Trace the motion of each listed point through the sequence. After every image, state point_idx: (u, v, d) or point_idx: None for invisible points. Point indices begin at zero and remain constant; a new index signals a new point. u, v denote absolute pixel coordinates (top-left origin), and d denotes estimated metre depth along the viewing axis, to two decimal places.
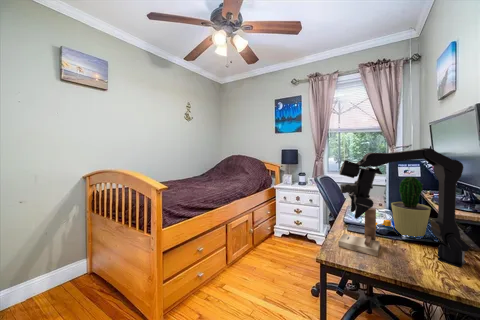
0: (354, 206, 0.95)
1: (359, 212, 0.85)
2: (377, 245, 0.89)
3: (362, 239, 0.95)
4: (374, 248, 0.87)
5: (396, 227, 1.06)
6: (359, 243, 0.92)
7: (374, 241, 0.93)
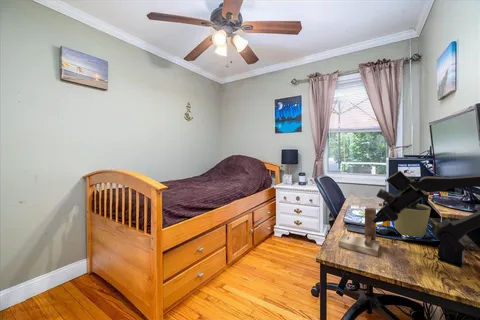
0: (381, 213, 0.98)
1: (380, 219, 0.90)
2: (377, 245, 0.89)
3: (362, 239, 0.95)
4: (374, 248, 0.87)
5: (396, 227, 1.06)
6: (359, 243, 0.92)
7: (374, 241, 0.93)
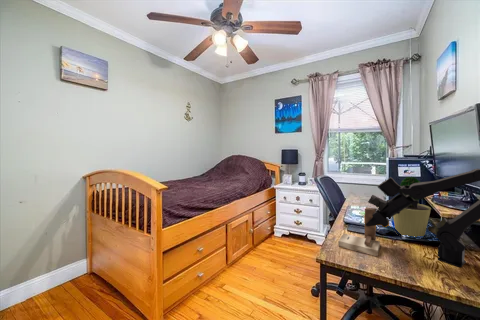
0: None
1: (372, 222, 0.94)
2: (377, 245, 0.89)
3: (362, 239, 0.95)
4: (374, 248, 0.87)
5: (396, 227, 1.06)
6: (359, 243, 0.92)
7: (374, 241, 0.93)
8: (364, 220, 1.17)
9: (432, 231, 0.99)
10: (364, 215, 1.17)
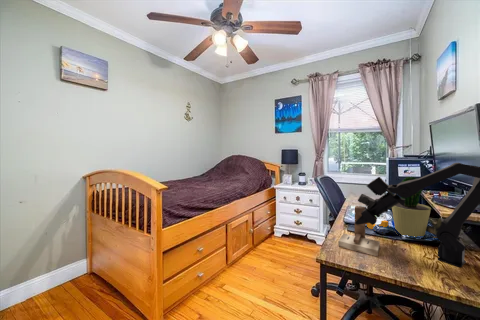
0: None
1: (361, 220, 0.96)
2: (377, 245, 0.89)
3: (362, 239, 0.95)
4: (374, 248, 0.87)
5: (396, 227, 1.06)
6: (359, 243, 0.92)
7: (374, 241, 0.93)
8: None
9: (429, 231, 0.99)
10: None
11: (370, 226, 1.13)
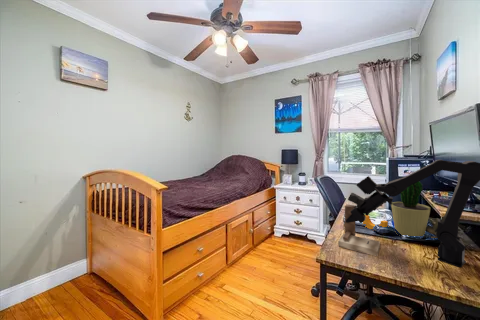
0: None
1: (351, 219, 0.99)
2: (377, 245, 0.89)
3: (362, 239, 0.95)
4: (374, 248, 0.87)
5: (396, 227, 1.06)
6: (359, 243, 0.92)
7: (374, 241, 0.93)
8: None
9: (428, 230, 1.00)
10: None
11: (369, 226, 1.13)
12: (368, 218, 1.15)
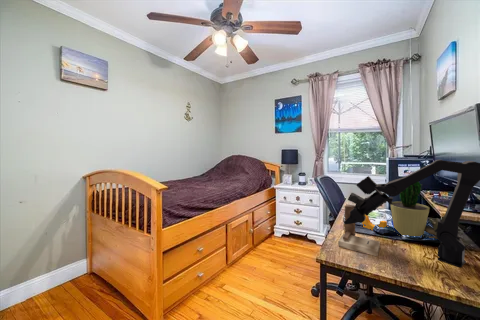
0: None
1: (350, 220, 0.97)
2: (377, 245, 0.89)
3: (362, 239, 0.95)
4: (374, 248, 0.87)
5: (395, 227, 1.06)
6: (359, 243, 0.92)
7: (374, 241, 0.93)
8: None
9: (427, 230, 1.00)
10: None
11: (368, 226, 1.13)
12: (367, 218, 1.15)
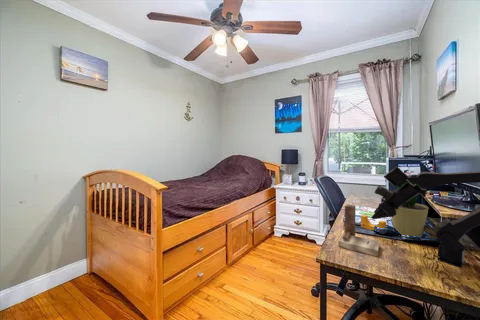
0: None
1: (378, 215, 0.90)
2: (377, 245, 0.89)
3: (362, 239, 0.95)
4: (374, 248, 0.87)
5: (394, 226, 1.07)
6: (359, 243, 0.92)
7: (374, 241, 0.93)
8: (361, 221, 1.16)
9: (425, 230, 1.00)
10: (361, 216, 1.16)
11: (367, 226, 1.13)
12: (366, 218, 1.15)
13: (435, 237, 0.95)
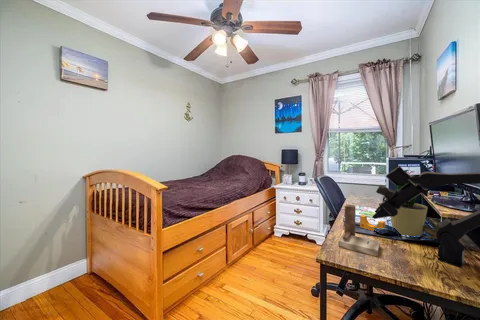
0: None
1: (379, 214, 0.90)
2: (377, 245, 0.89)
3: (362, 239, 0.95)
4: (374, 248, 0.87)
5: (393, 226, 1.07)
6: (359, 243, 0.92)
7: (374, 241, 0.93)
8: (360, 221, 1.16)
9: (424, 230, 1.00)
10: (360, 216, 1.16)
11: (367, 227, 1.13)
12: (365, 219, 1.15)
13: (434, 237, 0.96)
